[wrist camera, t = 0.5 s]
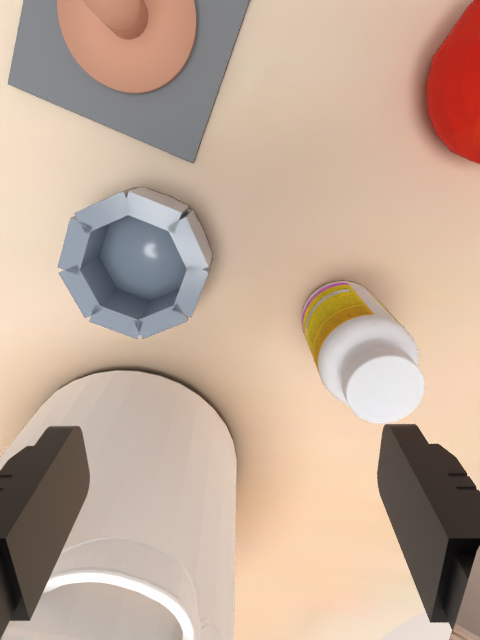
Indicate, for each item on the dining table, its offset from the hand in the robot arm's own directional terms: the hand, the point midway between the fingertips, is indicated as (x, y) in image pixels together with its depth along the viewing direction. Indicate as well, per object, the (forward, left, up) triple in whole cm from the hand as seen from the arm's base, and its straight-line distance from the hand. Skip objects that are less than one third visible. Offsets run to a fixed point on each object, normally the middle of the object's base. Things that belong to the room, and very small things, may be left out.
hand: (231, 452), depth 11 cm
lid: (-12, -13, -25) cm, 31 cm away
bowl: (+3, -7, -26) cm, 27 cm away
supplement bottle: (+2, +10, -26) cm, 28 cm away
